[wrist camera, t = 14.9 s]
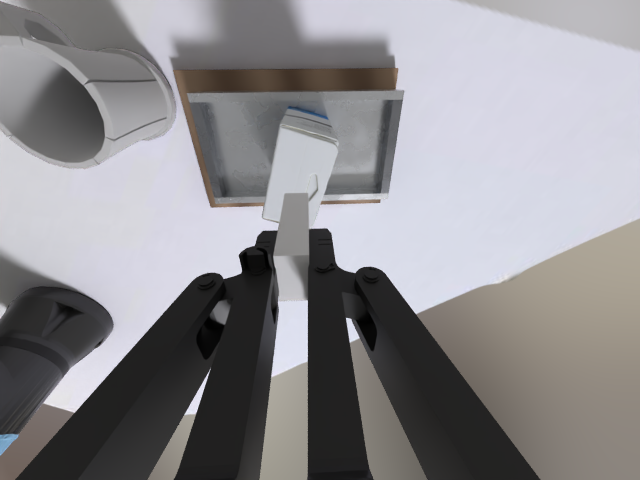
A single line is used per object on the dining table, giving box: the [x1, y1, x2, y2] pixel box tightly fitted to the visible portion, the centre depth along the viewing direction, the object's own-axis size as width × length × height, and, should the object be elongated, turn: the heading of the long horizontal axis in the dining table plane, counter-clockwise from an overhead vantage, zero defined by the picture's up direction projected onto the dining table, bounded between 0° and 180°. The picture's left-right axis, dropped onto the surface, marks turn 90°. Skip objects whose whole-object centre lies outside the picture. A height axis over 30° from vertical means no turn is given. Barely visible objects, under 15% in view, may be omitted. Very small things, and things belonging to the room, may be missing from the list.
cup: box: [0, 1, 176, 169], centre depth 23 cm, size 10×9×12 cm
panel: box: [173, 68, 398, 207], centre depth 32 cm, size 24×16×1 cm, turn 90°
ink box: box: [262, 106, 339, 229], centre depth 26 cm, size 8×5×12 cm, turn 163°
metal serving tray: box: [187, 89, 404, 204], centre depth 30 cm, size 22×12×3 cm, turn 90°
